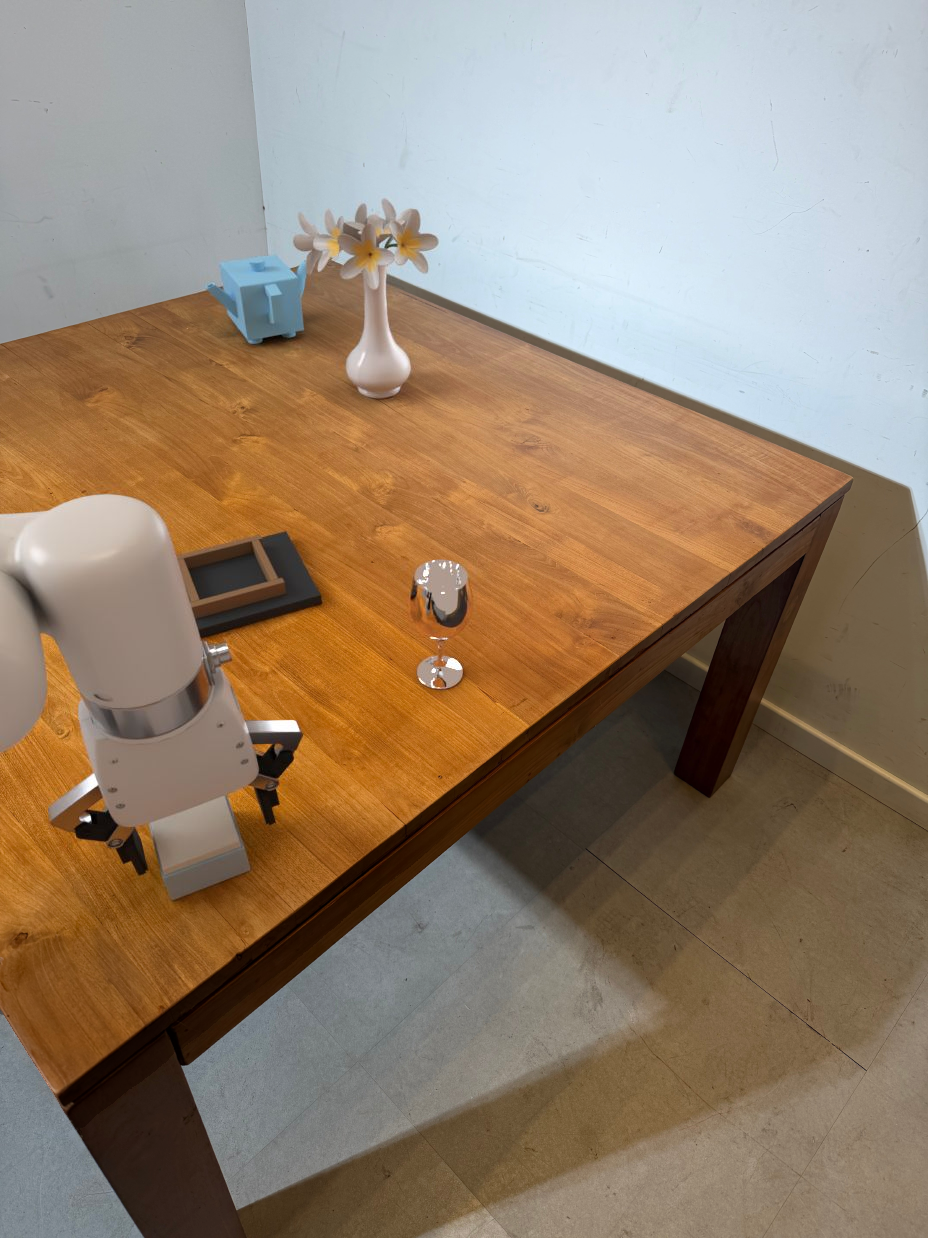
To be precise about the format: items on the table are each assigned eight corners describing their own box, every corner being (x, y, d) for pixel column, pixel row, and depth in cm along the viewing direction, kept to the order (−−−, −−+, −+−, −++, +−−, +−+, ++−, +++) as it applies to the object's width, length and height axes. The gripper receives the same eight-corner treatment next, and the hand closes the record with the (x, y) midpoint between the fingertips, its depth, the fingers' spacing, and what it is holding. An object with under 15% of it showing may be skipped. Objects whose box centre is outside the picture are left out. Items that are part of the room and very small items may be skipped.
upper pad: (171, 901, 62) (159, 873, 59) (155, 837, 66) (144, 808, 63) (251, 870, 64) (243, 842, 61) (231, 810, 68) (222, 781, 65)
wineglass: (417, 699, 77) (416, 603, 69) (403, 656, 81) (401, 560, 73) (476, 688, 78) (482, 592, 70) (460, 646, 83) (464, 551, 74)
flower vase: (319, 366, 126) (302, 186, 109) (441, 372, 125) (443, 193, 108) (302, 408, 116) (280, 218, 99) (433, 415, 116) (434, 226, 99)
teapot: (201, 321, 136) (188, 249, 128) (306, 303, 143) (299, 234, 135) (230, 361, 126) (217, 286, 118) (341, 340, 132) (336, 267, 125)
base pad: (165, 648, 81) (159, 627, 79) (142, 576, 89) (136, 555, 87) (322, 603, 87) (319, 583, 85) (287, 539, 94) (284, 519, 93)
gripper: (266, 605, 57) (298, 758, 69) (-7, 687, 51) (79, 838, 63) (300, 678, 52) (329, 829, 64) (2, 777, 46) (94, 923, 58)
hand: (204, 833), depth 63 cm, fingers open, 9 cm apart
